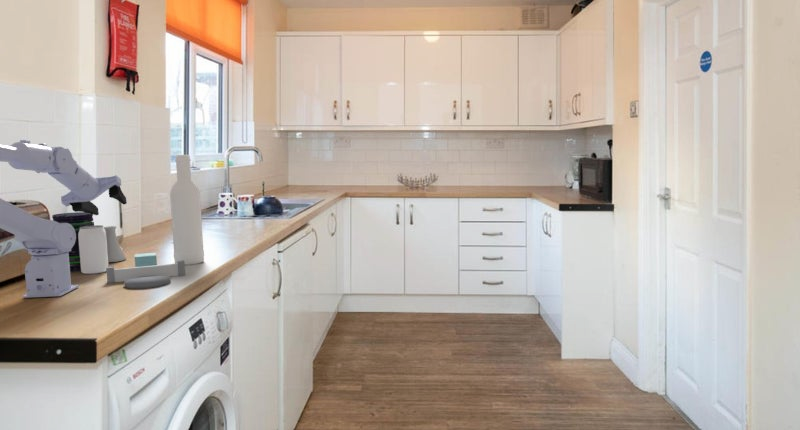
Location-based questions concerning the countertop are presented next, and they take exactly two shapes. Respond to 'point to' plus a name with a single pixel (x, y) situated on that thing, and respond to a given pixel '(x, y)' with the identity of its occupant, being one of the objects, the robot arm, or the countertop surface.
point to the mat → (147, 282)
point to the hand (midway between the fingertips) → (111, 206)
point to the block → (145, 259)
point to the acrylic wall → (145, 271)
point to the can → (93, 249)
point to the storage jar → (76, 221)
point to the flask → (113, 245)
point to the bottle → (186, 215)
